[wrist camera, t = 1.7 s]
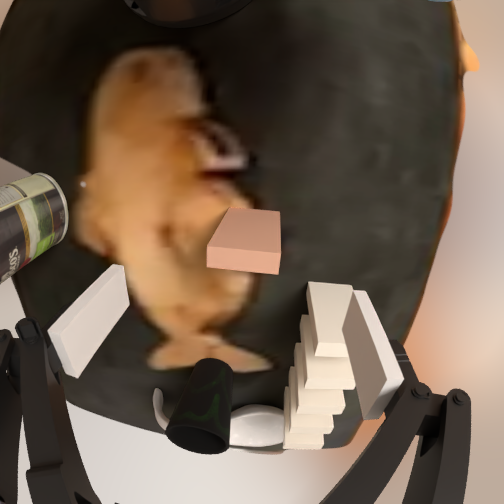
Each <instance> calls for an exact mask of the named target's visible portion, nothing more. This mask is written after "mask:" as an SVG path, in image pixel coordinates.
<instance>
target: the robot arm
mask: <svg viewBox="0 0 504 504" xmlns="http://www.w3.org/2000/svg"><path fill="white" fill-rule="evenodd" d="M124 1H125V3H126V4H127V6H128V7H129V8H130V9H131V10H132V11H133V12H134V13H136V14H137V15H138V16H140V17H141V18H143V19H144V20H146V21H148V22H150V23H152V24H155V25H158V26H162V27H168V28H188V27H195V26H201V25H205V24H209V23H212V22H215V21H218V20H220V19H223V18H225V17H227V16H229V15H231V14H233V13H235V12H237V11H238V10H240V9H241V8H243V7H244V6H246V5H247V4H248V3H249V2H250V1H252V0H124ZM428 1H434V2H449V1H452V0H428ZM128 306H129V299H128V293H127V287H126V280H125V273H124V266H121V265H114V264H113V265H112V266H110V267H109V268H108V269H107V270H106V271H105V272H104V273H103V274H102V275H101V276H100V277H99V278H98V279H97V280H96V281H95V282H94V283H93V284H92V285H91V286H90V287H89V288H88V289H87V290H86V291H85V292H84V293H83V294H82V295H81V296H80V297H79V298H78V299H77V300H76V301H75V302H70V303H68V304H67V305H65V306H63V307H62V308H61V309H60V310H59V311H58V313H57V314H56V315H55V316H54V317H53V318H52V319H51V320H50V321H49V322H48V323H47V324H46V325H45V326H44V327H43V328H42V329H41V328H40V326H39V323H38V320H37V319H36V318H34V317H26V318H23V319H21V320H20V321H18V323H17V324H16V326H15V329H16V332H17V334H18V336H19V338H13V337H12V334H11V332H10V331H9V330H7V329H3V330H0V504H17V496H18V494H17V493H18V453H19V440H20V429H21V422H22V415H23V422H24V431H25V437H26V444H27V450H28V456H29V461H30V469H29V470H27V471H26V479H27V483H28V487H29V491H30V495H31V499H32V502H33V504H102V503H101V501H100V500H99V498H98V497H97V495H96V494H95V492H94V491H93V489H92V487H91V484H90V482H89V479H88V476H87V474H86V471H85V468H84V465H83V462H82V459H81V456H80V453H79V450H78V447H77V444H76V440H75V437H74V433H73V429H72V425H71V421H70V418H69V413H68V409H67V404H66V400H65V395H64V390H63V384H62V379H61V374H60V372H59V369H60V368H61V366H63V368H64V370H65V372H66V374H68V375H71V376H73V377H76V378H78V377H79V376H80V374H81V373H82V371H83V370H84V368H85V367H86V365H87V364H88V362H89V361H90V359H91V358H92V356H93V355H94V353H95V352H96V351H97V349H98V348H99V346H100V345H101V343H102V342H103V341H104V339H105V338H106V336H107V335H108V334H109V332H110V331H111V329H112V328H113V327H114V325H115V324H116V322H117V321H118V320H119V318H120V317H121V316H122V314H123V313H124V312H125V310H126V309H127V307H128ZM342 332H343V336H344V340H345V344H346V347H347V351H348V355H349V359H350V363H351V367H352V371H353V375H354V380H355V384H356V388H357V392H358V397H359V401H360V406H361V410H362V415H363V420H370V419H379V418H380V417H381V415H382V414H383V412H385V416H386V419H385V420H384V422H383V423H382V425H381V426H380V427H379V429H378V430H377V432H376V434H375V435H374V437H373V438H372V440H371V441H370V442H369V444H368V445H367V447H366V448H365V449H364V451H363V452H362V453H361V455H360V456H359V457H358V459H357V460H356V461H355V463H354V464H353V465H352V466H351V468H350V469H349V470H348V471H347V473H346V474H345V475H344V476H343V478H342V479H341V480H340V481H339V482H338V483H337V484H336V486H335V487H334V488H333V489H332V490H331V491H330V492H329V494H328V495H327V496H326V497H325V498H324V499H323V500H322V501H321V502H320V503H319V504H374V502H375V501H376V500H377V498H378V497H379V495H380V494H381V492H382V491H383V489H384V488H385V486H386V485H387V483H388V482H389V480H390V478H391V477H392V475H393V474H394V472H395V471H396V469H397V467H398V466H399V464H400V462H401V460H402V459H403V457H404V455H405V454H406V452H407V450H408V448H409V446H410V444H411V442H412V441H413V439H414V437H415V435H419V441H418V446H417V451H416V455H415V459H414V463H413V468H412V472H411V475H410V479H409V482H408V486H407V489H406V492H405V496H404V499H403V502H402V504H463V500H464V494H465V489H466V482H467V475H468V466H469V455H470V440H471V400H470V397H469V396H468V394H467V393H466V392H465V391H463V390H461V389H452V390H451V391H450V392H449V393H448V394H447V395H446V396H444V395H439V394H433V393H432V391H431V390H430V388H429V387H428V386H427V385H425V384H424V383H421V382H419V381H418V378H417V376H416V374H415V372H414V370H413V367H412V365H411V362H410V361H409V358H408V356H407V355H406V351H405V349H404V347H403V346H402V345H401V344H400V343H399V342H398V341H397V340H388V339H387V336H386V334H385V332H384V330H383V327H382V325H381V323H380V321H379V318H378V316H377V314H376V312H375V310H374V308H373V306H372V303H371V301H370V299H369V297H368V295H367V293H366V291H358V290H353V292H352V296H351V299H350V303H349V306H348V310H347V313H346V317H345V320H344V323H343V327H342ZM6 370H7V373H6ZM115 504H118V503H115Z"/></svg>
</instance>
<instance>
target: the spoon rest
mask: <svg viewBox="0 0 504 504" xmlns="http://www.w3.org/2000/svg"><path fill="white" fill-rule="evenodd" d="M153 405H154V409H155V416H156V419H157V422H158V423H159V425H160V426H161V427H162V428H163V429H164V430H166V427H167V425H168V423H169V421H170V420H169V419H168V418H167V417H166V416H165V415H164V413H163V411H162V406H163V395H162V391H161V390H160V389H159V388H156V389H155V391H154V395H153ZM283 427H284V411H283V410H281V409H279V408H276V407H273V406H268V405H261V404H250V405H246V406H244V407H242V408H239V409H237V410H235V411H233V412H231V424H230V445H241V446H269V445H274V444H278V443H281V442H283Z"/></svg>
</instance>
